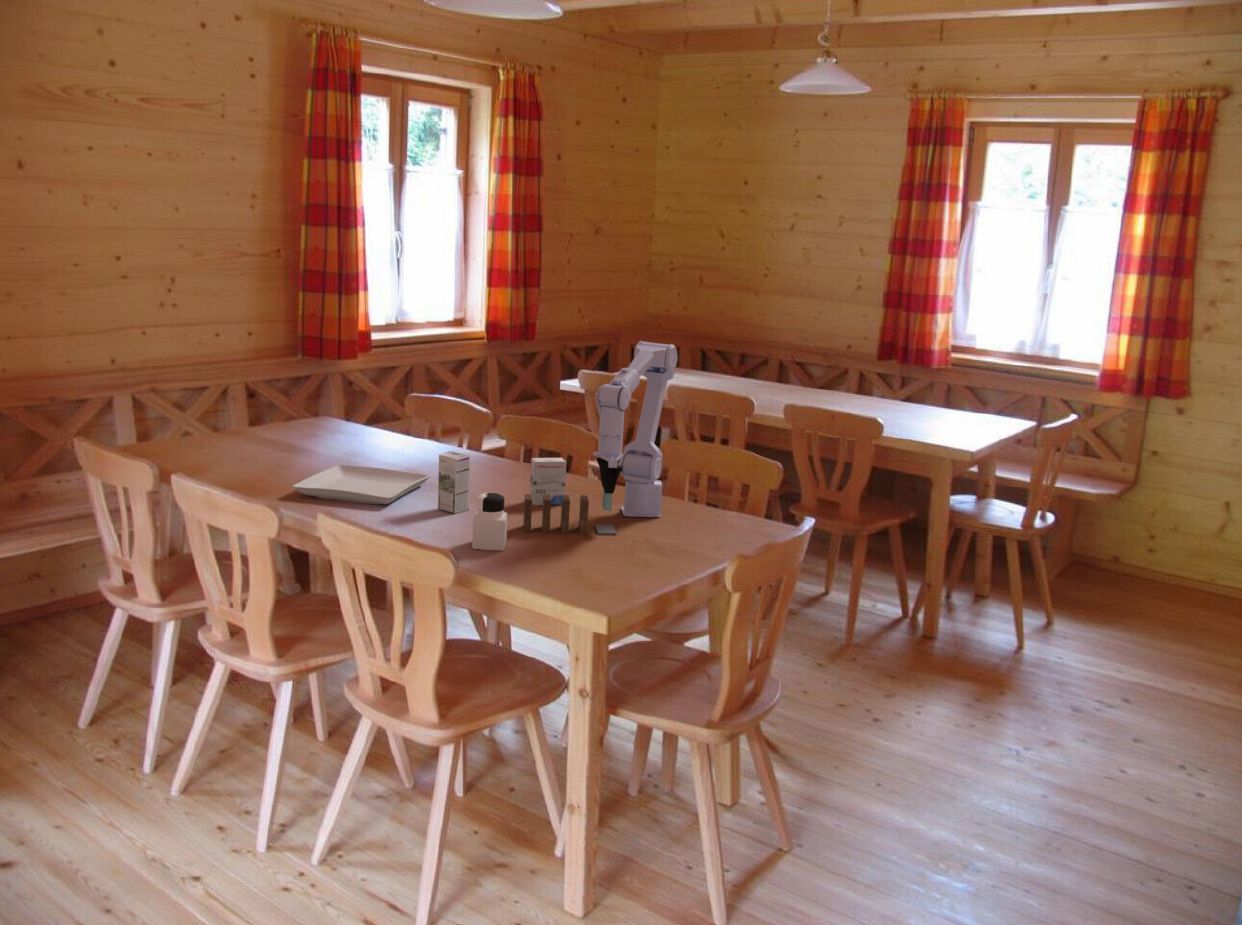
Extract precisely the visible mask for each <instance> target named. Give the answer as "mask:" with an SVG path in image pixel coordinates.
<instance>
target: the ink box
mask: <svg viewBox="0 0 1242 925" xmlns="http://www.w3.org/2000/svg"><path fill="white" fill-rule="evenodd" d="M530 464H531V465H530V480H529V481H530V484H529V494H531V495H532V506H543V494H545V495H550V497H551V506H559V505H560V506H561V505H562V495H566V478H567V461H566V460H565V459H564V458H563V457H531V462H530Z"/></svg>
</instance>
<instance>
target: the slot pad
mask: <svg viewBox="0 0 1242 925" xmlns="http://www.w3.org/2000/svg"><path fill="white" fill-rule="evenodd" d="M594 527H595V529H596V530H595V531H596V533H597V535H605V536H607V535H608V536H609V535H611V536H612V535H613V536H616V535H617V531H616V529H615V526H614V524H594Z"/></svg>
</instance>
